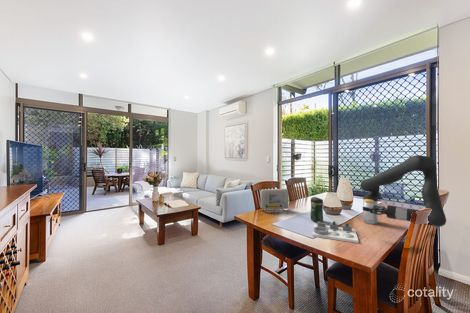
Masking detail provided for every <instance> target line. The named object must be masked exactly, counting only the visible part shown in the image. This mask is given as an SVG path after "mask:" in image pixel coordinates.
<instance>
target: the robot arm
mask: <svg viewBox="0 0 470 313" xmlns="http://www.w3.org/2000/svg"><path fill="white" fill-rule="evenodd" d="M412 172H422V174H423V176H424V182H423V185H422V187H421V188H422V189H421V196H422V201H423V205H424V207H425V209H426V208H431V209H432V211H431V213H430V215H429V216H428V221H429V223H428V224H426V226H427V225H428V226H432V227H438V228H439V227H443V226H445V225H446V223H447V218H446V214H445V211H444V209H443V204H442V199H441V196H440V192H439V188H438V187H439V186H438V178H437V176H438V175H437V164H436V161H435V159H434V158H433V157H432V156H427V155H420V154H419V155H418V154H416V155H412V156H410V157H409V158H407V159H405V160H403V162H401V163H399V164H397V165H395V166H393V167H391V168H388V169H385V170H384V171H382V172H380V173H378V174H376V175H375V176H372V177H370V178H366V179H364V180H362V181H361V182H360V185H359V186H360V187H359V188H360V189H361V190H362V191H363V192H367V194H365V195H363V197H362V198H363V206H362V212H363V222H364V223H366V224H369V225H370V224H371V225H377V224H378V223H379V216H382V215H386V218H387V219H393V220H399V221H405V222H411V221H410V219H411V214H412V212H416V211H420V210H419V209H414V208H408V207H404V206H397V205H387V206H384V205H383V206H382V205H378V204H379V202H378V200H379V198H380V197H379V196H380V186H387V185H391V184H395V183H397V182H399V181H401V180H402V179H403V178H404V177H405V175H406V174H409V173H412ZM364 199H371V200H374V202H373V208H368V207H364ZM372 210H373V211H372ZM364 211H370V213H373V220H367V219H364Z"/></svg>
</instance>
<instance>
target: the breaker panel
mask: <svg viewBox="0 0 470 313" xmlns="http://www.w3.org/2000/svg"><path fill="white" fill-rule="evenodd" d="M316 223H317V224H316ZM316 223H314V225H313V230H312V234H311V235H312V237H314V236H315V237H316V238H322V239H329V240H335V241H342V242H348V243H354V244H355V243H356V244H359V237H358V235H357V232H356V229H355V228H353V226H352V225H351V224H349V222H345V224H342V226H339V224H338V223H336V221H334V220H333V221H332V222H330V223H329V225H327V223H326V221H324V218H323V219H320V221H318V222H316Z"/></svg>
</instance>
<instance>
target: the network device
mask: <svg viewBox="0 0 470 313" xmlns="http://www.w3.org/2000/svg"><path fill="white" fill-rule="evenodd" d="M260 208H261V210H264V212H265V213H284V212H285V211H286V210H288V208H289V190H288V189H286V188H272V189H271V188H270V189H269V188H267V189H261V190H260ZM276 209H278V210H276Z"/></svg>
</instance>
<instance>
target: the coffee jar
mask: <svg viewBox="0 0 470 313" xmlns="http://www.w3.org/2000/svg"><path fill="white" fill-rule="evenodd" d="M323 200H324V199H323V198H319V197H316V196H314V197H313V196H312V197H310V220H311V221H313V222H314V223H318V221H320V219H323V220H324V212H323V211H324V210H323V209H324V207H323V206H324V201H323Z"/></svg>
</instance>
